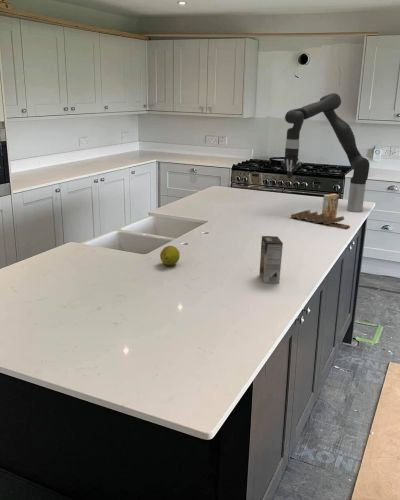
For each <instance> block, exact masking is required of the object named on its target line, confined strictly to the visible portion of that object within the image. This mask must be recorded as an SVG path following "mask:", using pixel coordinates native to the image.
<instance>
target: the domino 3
mask: <svg viewBox="0 0 400 500" xmlns="http://www.w3.org/2000/svg"><path fill="white" fill-rule="evenodd" d="M326 216H327V214H326V213H323V214H322V213H320V214H319V213H318V215H316V216H313V217H309V218H305V220H306V221H307V223H309V222H312V221H314V220H316V219H320V218H323V217H326Z"/></svg>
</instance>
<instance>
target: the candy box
mask: <svg viewBox="0 0 400 500" xmlns="http://www.w3.org/2000/svg"><path fill="white" fill-rule="evenodd" d="M339 199H340V195H339V194H336V193H330V194H329V193H328V194H324V195H323V201H322V209H321V214H323V213H326V214H327V216H331V215H334V216H335V218H337V214H338V207H339Z"/></svg>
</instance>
